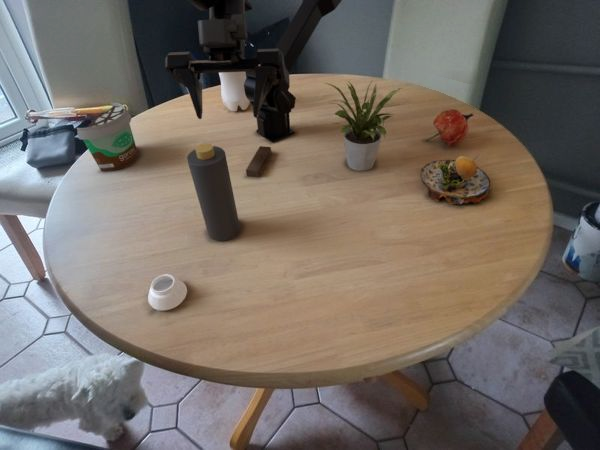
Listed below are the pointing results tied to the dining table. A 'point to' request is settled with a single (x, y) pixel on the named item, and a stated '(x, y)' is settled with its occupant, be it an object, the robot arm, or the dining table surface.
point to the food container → (110, 139)
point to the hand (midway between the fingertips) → (227, 117)
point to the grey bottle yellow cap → (214, 191)
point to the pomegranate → (451, 126)
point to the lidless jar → (166, 292)
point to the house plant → (363, 129)
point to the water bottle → (233, 90)
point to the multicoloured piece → (455, 180)
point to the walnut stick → (258, 161)
